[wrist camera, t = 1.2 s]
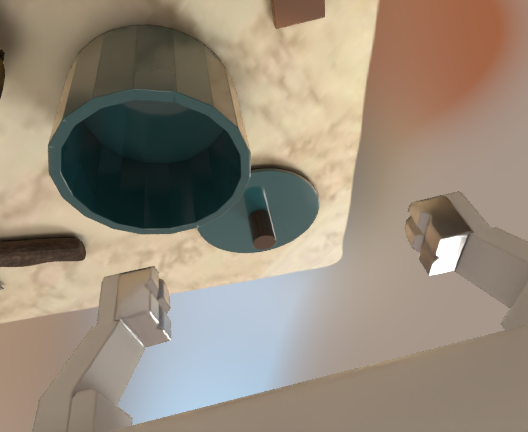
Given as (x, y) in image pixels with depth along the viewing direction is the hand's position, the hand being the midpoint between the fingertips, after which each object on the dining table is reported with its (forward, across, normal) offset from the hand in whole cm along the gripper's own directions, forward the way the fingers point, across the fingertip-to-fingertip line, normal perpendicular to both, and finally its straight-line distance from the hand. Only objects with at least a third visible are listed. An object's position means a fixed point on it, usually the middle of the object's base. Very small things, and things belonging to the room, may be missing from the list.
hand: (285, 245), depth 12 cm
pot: (+25, +7, +8) cm, 27 cm away
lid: (+25, 0, +25) cm, 36 cm away
